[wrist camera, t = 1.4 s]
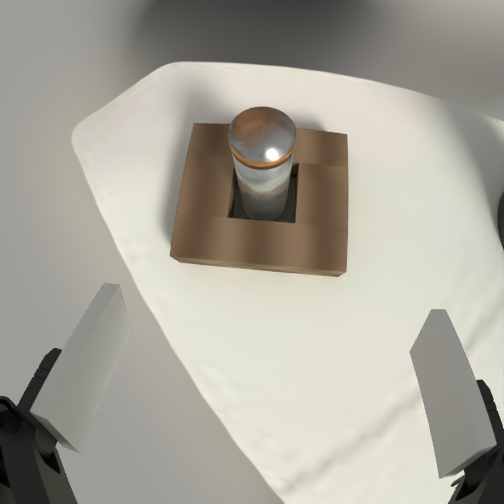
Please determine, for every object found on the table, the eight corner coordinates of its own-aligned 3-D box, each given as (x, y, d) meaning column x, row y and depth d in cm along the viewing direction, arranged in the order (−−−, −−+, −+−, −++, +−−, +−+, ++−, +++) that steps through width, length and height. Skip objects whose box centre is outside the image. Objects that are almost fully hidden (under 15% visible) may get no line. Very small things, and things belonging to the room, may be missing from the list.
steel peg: (287, 184, 38) (297, 109, 23) (284, 224, 37) (295, 165, 22) (245, 180, 38) (232, 105, 24) (240, 220, 37) (223, 160, 23)
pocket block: (340, 150, 39) (347, 134, 35) (337, 276, 35) (346, 271, 32) (200, 140, 40) (193, 123, 36) (179, 262, 37) (169, 255, 33)
